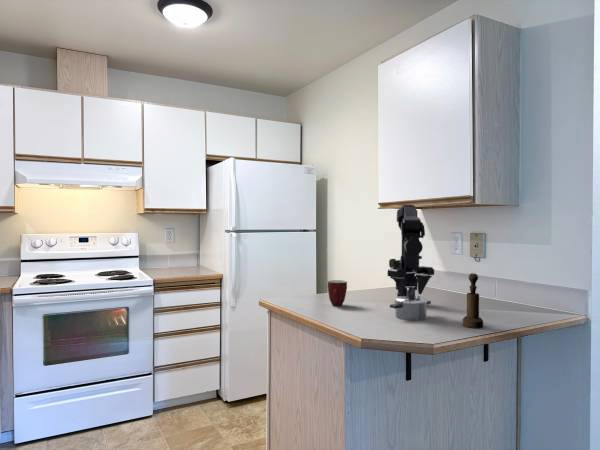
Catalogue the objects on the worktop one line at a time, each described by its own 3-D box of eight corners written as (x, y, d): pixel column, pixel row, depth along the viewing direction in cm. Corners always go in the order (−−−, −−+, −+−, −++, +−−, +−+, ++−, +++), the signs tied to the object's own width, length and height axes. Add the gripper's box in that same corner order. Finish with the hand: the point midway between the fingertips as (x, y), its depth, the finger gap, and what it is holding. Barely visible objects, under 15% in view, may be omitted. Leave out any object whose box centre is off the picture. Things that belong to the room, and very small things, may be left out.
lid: (410, 297, 167) (410, 284, 167) (434, 302, 157) (434, 288, 157) (388, 299, 161) (388, 286, 161) (411, 305, 151) (411, 291, 151)
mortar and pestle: (459, 323, 150) (459, 272, 150) (477, 323, 150) (477, 272, 150) (468, 328, 143) (468, 274, 143) (486, 328, 144) (487, 274, 143)
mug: (347, 308, 173) (347, 284, 173) (327, 308, 174) (327, 283, 174) (346, 303, 184) (346, 280, 184) (327, 303, 185) (327, 279, 184)
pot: (417, 311, 169) (417, 296, 169) (439, 317, 159) (439, 301, 159) (381, 316, 159) (382, 300, 159) (402, 323, 150) (403, 305, 150)
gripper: (413, 250, 171) (413, 289, 171) (377, 252, 161) (377, 293, 161) (435, 252, 161) (435, 294, 161) (398, 254, 152) (398, 298, 152)
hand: (410, 295), depth 159 cm, fingers open, 9 cm apart
